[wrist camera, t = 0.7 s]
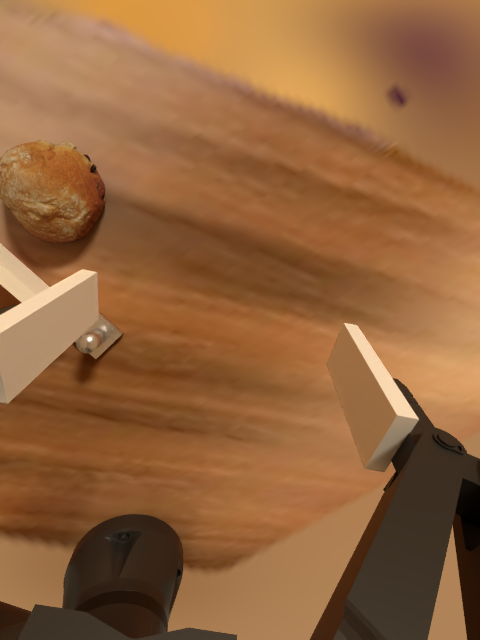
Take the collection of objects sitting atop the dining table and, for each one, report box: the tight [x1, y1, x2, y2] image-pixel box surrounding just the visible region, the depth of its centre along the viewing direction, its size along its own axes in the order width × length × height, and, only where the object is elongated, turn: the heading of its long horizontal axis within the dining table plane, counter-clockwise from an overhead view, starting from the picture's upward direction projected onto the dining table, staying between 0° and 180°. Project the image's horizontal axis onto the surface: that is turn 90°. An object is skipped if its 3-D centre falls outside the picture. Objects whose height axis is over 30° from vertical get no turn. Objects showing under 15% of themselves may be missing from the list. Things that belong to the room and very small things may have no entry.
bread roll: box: [0, 140, 105, 243], centre depth 31 cm, size 10×10×8 cm
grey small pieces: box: [75, 313, 123, 359], centre depth 31 cm, size 4×26×5 cm, turn 44°
